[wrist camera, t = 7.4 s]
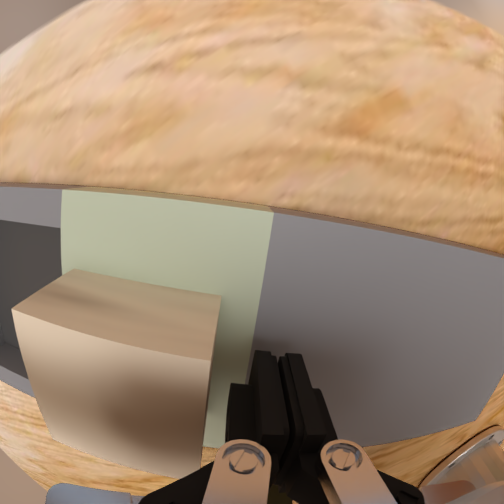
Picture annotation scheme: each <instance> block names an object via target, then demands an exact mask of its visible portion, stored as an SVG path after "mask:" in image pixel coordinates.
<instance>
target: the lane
mask: <svg viewBox="0 0 504 504" xmlns="http://www.w3.org/2000/svg"><path fill="white" fill-rule="evenodd" d="M72 269H78V270H83V271H88V272H92V273H97V274H102V275H107V276H112V277H117V278H122V279H127V280H132V281H138V282H143V283H149V284H154V285H160V286H165V287H171V288H177V289H183V290H189V291H195V292H202V293H208V294H215V295H221V304H220V311H219V319H218V326H217V334H216V342H215V350H214V358H213V366H212V374H211V383H210V392H209V400H208V409H207V418H206V425H205V433H204V441H203V446H204V447H212V448H220V447H221V446H222V445H224V444H225V429H226V413H227V403H228V396H229V389H230V384H231V383H239V384H248V382H249V377H250V372H251V367H252V362H253V357H254V352H255V350H261V351H270V352H271V355H273V356H276V357H277V363H278V360H279V357H280V356H284V355H285V353H298V354H302V357H303V360H304V363H305V366H306V369H307V372H308V375H309V379H310V382H311V385H312V388H319V389H320V390H321V391H322V394H323V397H324V400H325V402H326V405H327V408H328V411H329V414H330V417H331V420H332V423H333V426H334V428H335V431H336V434H337V437H338V440H341V439H343V440H349V441H352V442H354V443H356V444H358V445H359V446H361V447H366V446H374V445H380V444H386V443H392V442H397V441H402V440H407V439H412V438H416V437H420V436H425V435H429V434H433V433H436V432H440V431H444V430H447V429H450V428H454V427H457V426H460V425H463V424H466V423H469V422H472V421H475V420H476V419H477V417H478V416H479V414H480V413H481V411H482V410H483V408H484V407H485V405H486V403H487V402H488V400H489V399H490V397H491V395H492V394H493V392H494V390H495V388H496V387H497V385H498V383H499V381H500V379H501V378H502V376H503V374H504V255H503V254H499V253H496V252H492V251H488V250H484V249H481V248H477V247H473V246H469V245H465V244H461V243H457V242H452V241H448V240H444V239H440V238H435V237H431V236H427V235H422V234H418V233H413V232H409V231H404V230H399V229H394V228H390V227H385V226H380V225H375V224H370V223H364V222H359V221H354V220H349V219H343V218H338V217H332V216H326V215H321V214H315V213H309V212H303V211H297V210H291V209H284V208H278V207H271V206H265V205H258V204H251V203H244V202H237V201H229V200H222V199H214V198H206V197H198V196H189V195H180V194H171V193H162V192H152V191H141V190H130V189H119V188H106V187H93V186H77V185H60V184H38V183H2V182H0V380H1V381H3V382H5V383H7V384H8V385H10V386H12V387H14V388H16V389H18V390H20V391H22V392H24V393H26V394H28V395H30V396H32V397H34V398H35V395H34V393H33V390H32V387H31V384H30V381H29V378H28V375H27V371H26V368H25V365H24V361H23V358H22V354H21V350H20V347H19V343H18V338H17V334H16V330H15V325H14V320H13V315H12V310H11V308H13V307H14V306H16V305H17V304H19V303H20V302H22V301H23V300H25V299H26V298H28V297H29V296H31V295H32V294H34V293H35V292H37V291H38V290H40V289H42V288H43V287H45V286H46V285H48V284H49V283H51V282H53V281H54V280H56V279H57V278H59V277H61V276H62V275H64V274H66V273H67V272H69V271H70V270H72Z"/></svg>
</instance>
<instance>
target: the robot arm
mask: <svg viewBox="0 0 504 504" xmlns="http://www.w3.org/2000/svg"><path fill="white" fill-rule="evenodd" d="M503 439H504V429H503V428H502V427H501V426H494V427H492V428H489V429H487V430H485V431H484V432H482V433H480V434H479V435H477V436H476V437H474V438H473V439H471V440H470V441H469V442H467V443H466V444H464V445H463V446H462V447H460V448H459V449H458V450H457V451H455V452H454V453H453V454H452V455H450V456H449V457H448V458H447V459H446V460H444V461H443V462H442V463H441V464H440V465H439V466H437V467H436V468H435V469H434V470H433V471H432V472H431V473H430V474H429V475H428V476H427V477H426V478H425V479H424V481H423V482H422V483H421V485H420V486H419V489H418V488H416V487H415V486H413V485H410V484H408V483H406V482H403V481H401V480H399V479H396V478H394V477H392V476H390V475H387V474H385V473H383V472H381V471H379V470H377V469H376V468H375V467H374V465H373V463H372V462H371V460H370V459H369V457H368V455H367V454H366V452H365V451H364V449H363V448H362V447H361V446H359V445H358V444H356V443H354V442H352V441H349V440H343V439H341V440H338V437H337V434H336V431H335V428H334V426H333V423H332V420H331V417H330V414H329V411H328V408H327V405H326V402H325V400H324V397H323V394H322V391H321V390H320V389H319V388H312V385H311V382H310V379H309V375H308V372H307V369H306V366H305V363H304V360H303V357H302V354H298V353H285V355H284V356H280V357H279V360H278V363H277V357H276V356H273V355H271V352H270V351H261V350H255V352H254V357H253V362H252V367H251V372H250V377H249V382H248V384H239V383H231V384H230V389H229V396H228V403H227V413H226V429H225V444H224V445H222V446H221V447H220V448H219V450H218V452H217V455H216V458H215V461H213V462H211V463H209V464H208V465H206V466H204V467H202V468H200V469H199V470H197V471H195V472H193V473H191V474H189V475H187V476H185V477H183V478H181V479H179V480H177V481H175V482H173V483H171V484H169V485H167V486H165V487H163V488H161V489H158V490H156V491H154V492H152V493H150V494H148V495H146V496H133V495H131V494H130V493H125V492H116V491H108V490H101V489H94V488H88V487H83V486H78V485H73V484H67V483H59V484H56V485H53V486H52V487H51V488H50V489H49V490H48V493H47V496H46V503H45V504H267V498H268V492H269V490H270V488H271V486H272V484H273V485H278V491H279V493H286V495H287V497H289V498H290V499H292V500H293V501H292V503H293V504H504V451H503V450H502V448H501V447H500V445H501V443H502V441H503Z"/></svg>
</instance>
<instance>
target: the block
mask: <svg viewBox="0 0 504 504" xmlns="http://www.w3.org/2000/svg"><path fill="white" fill-rule="evenodd" d="M220 304H221V295H215V294H208V293H202V292H195V291H189V290H183V289H177V288H171V287H165V286H160V285H154V284H149V283H143V282H138V281H132V280H127V279H122V278H117V277H112V276H107V275H102V274H97V273H92V272H88V271H83V270H78V269H72V270H70V271H69V272H67V273H66V274H64V275H62V276H61V277H59V278H57V279H56V280H54V281H53V282H51V283H49V284H48V285H46V286H45V287H43V288H42V289H40V290H38V291H37V292H35V293H34V294H32V295H31V296H29V297H28V298H26V299H25V300H23V301H22V302H20V303H19V304H17V305H16V306H14V307H13V308H11V310H12V315H13V320H14V325H15V330H16V334H17V338H18V343H19V347H20V350H21V354H22V358H23V361H24V365H25V368H26V371H27V375H28V378H29V381H30V384H31V387H32V390H33V393H34V395H35V398H36V401H37V403H38V406H39V408H40V411H41V413H42V416H43V418H44V421H45V423H46V425H47V428H48V430H49V432H50V434H51V436H52V438H53V440H56V441H58V442H60V443H62V444H65V445H67V446H69V447H72V448H74V449H77V450H79V451H82V452H84V453H87V454H90V455H92V456H95V457H98V458H101V459H104V460H107V461H110V462H113V463H116V464H119V465H123V466H126V467H130V468H133V469H137V470H141V471H145V472H149V473H153V474H158V475H162V476H167V477H172V478H177V479H181V478H183V477H185V476H187V475H189V474H191V473H193V472H195V471H197V470H199V469H200V466H201V458H202V449H203V441H204V433H205V425H206V418H207V409H208V400H209V392H210V383H211V374H212V366H213V358H214V350H215V342H216V334H217V326H218V319H219V311H220Z"/></svg>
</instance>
